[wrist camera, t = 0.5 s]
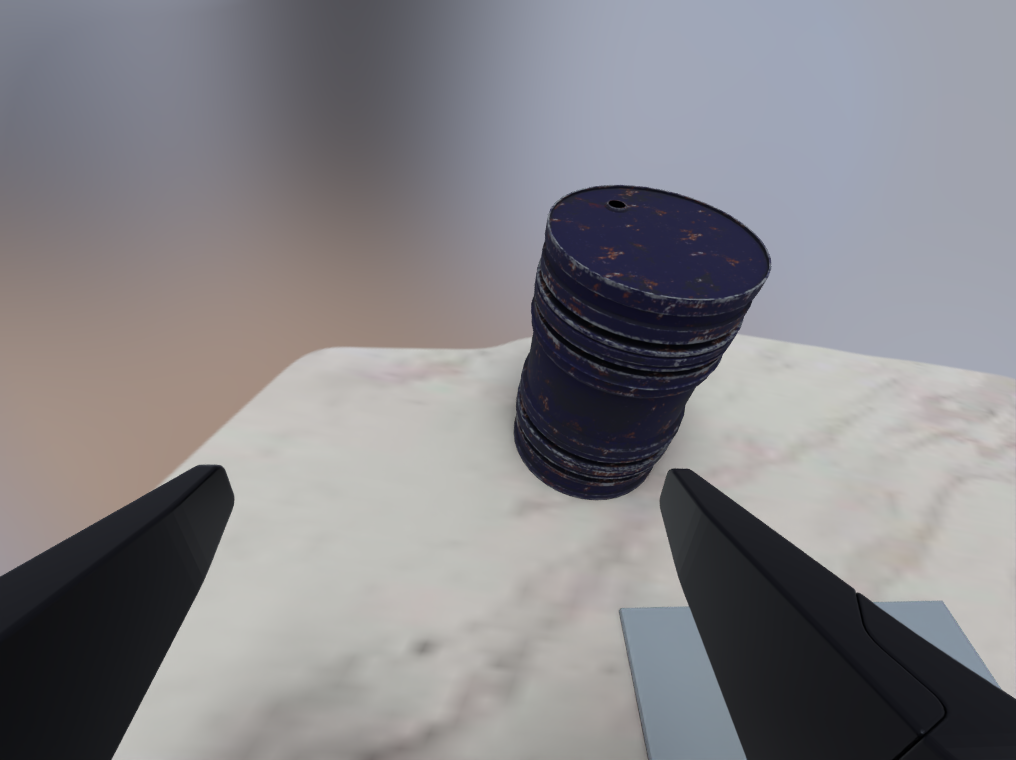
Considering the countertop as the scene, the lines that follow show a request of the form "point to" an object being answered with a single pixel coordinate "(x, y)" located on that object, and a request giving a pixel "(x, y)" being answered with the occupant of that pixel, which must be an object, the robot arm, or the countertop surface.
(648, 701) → the board
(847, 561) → the countertop surface
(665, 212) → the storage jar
